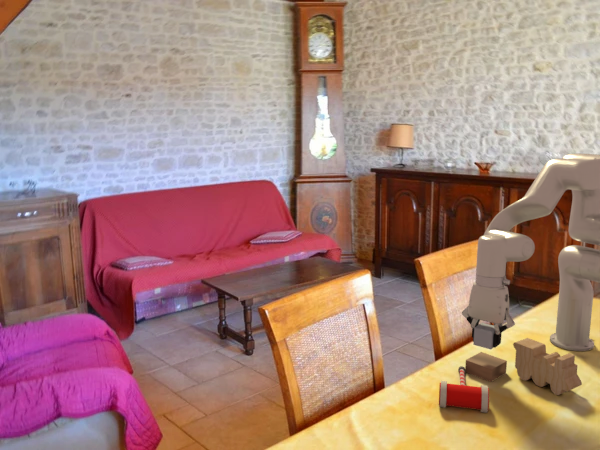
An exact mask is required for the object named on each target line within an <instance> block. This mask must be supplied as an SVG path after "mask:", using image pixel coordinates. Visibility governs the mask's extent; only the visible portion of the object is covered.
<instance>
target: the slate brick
mask: <svg viewBox="0 0 600 450" xmlns="http://www.w3.org/2000/svg"><path fill="white" fill-rule="evenodd" d="M494 333H495V328H494V324H493V325H492V324H488V323H486V322H485V323H484V322H481V323H479V325H478V326H476V327H475V328H474V342H473V345H474V346H477V347H480V348H484V349H488V350H492V349H495V348H494V347H493V335H494Z"/></svg>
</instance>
